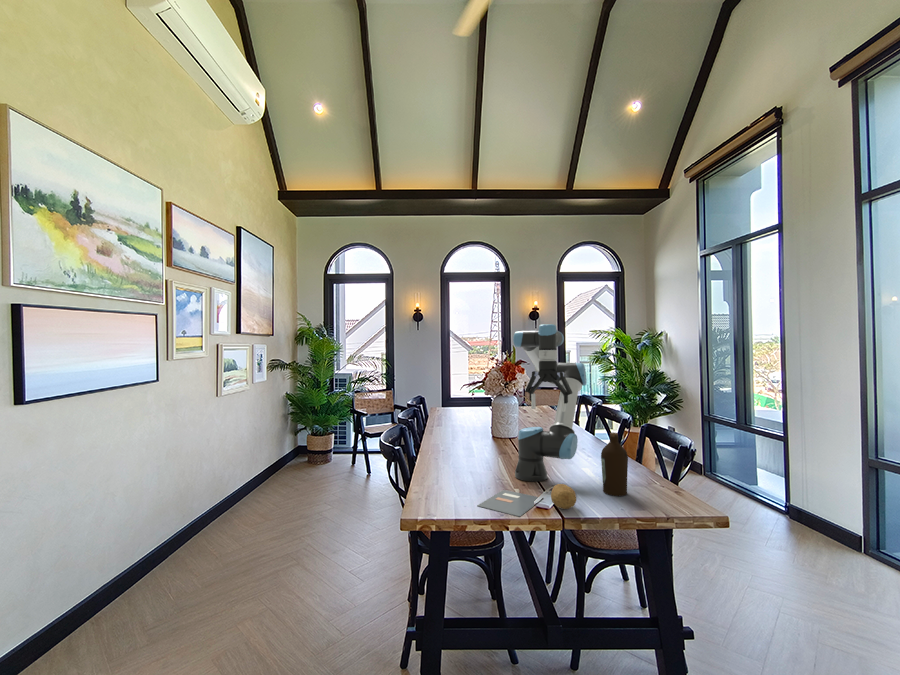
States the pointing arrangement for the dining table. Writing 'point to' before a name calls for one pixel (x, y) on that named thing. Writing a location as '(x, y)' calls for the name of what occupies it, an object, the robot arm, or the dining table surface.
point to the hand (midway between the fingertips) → (548, 410)
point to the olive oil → (614, 467)
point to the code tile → (509, 503)
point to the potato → (563, 496)
